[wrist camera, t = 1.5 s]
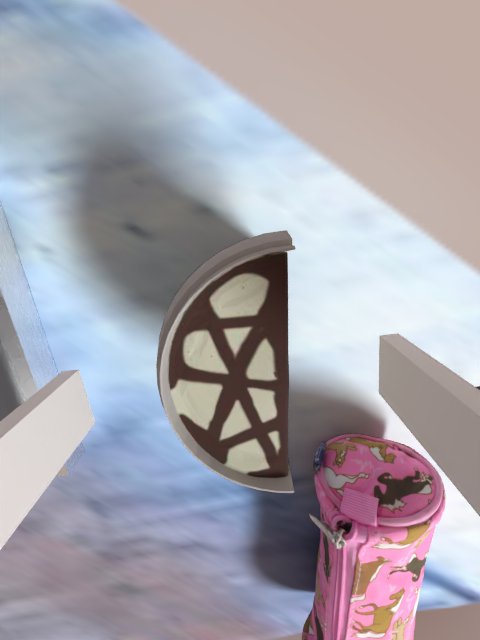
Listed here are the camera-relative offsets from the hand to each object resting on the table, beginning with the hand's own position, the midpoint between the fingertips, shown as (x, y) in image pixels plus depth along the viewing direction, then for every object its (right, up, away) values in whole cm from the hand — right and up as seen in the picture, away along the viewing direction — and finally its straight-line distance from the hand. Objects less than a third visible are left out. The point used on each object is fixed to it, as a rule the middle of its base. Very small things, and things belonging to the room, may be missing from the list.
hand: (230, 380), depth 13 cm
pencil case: (+10, -16, +15) cm, 24 cm away
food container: (0, +3, +9) cm, 9 cm away
